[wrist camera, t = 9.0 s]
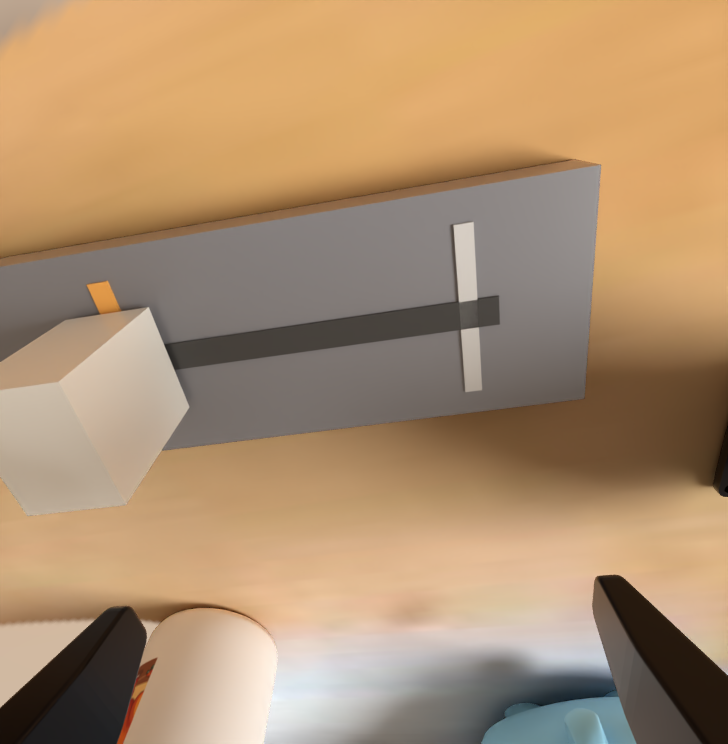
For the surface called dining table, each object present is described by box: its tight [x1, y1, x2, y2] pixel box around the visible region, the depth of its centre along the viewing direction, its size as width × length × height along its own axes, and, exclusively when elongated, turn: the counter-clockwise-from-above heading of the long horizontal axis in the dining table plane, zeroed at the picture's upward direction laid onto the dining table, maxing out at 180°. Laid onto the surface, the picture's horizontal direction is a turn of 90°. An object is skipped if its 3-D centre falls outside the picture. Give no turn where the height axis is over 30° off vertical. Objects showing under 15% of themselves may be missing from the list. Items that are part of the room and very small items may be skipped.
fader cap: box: [0, 307, 189, 516], centre depth 14 cm, size 4×3×5 cm
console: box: [0, 159, 601, 451], centre depth 17 cm, size 8×24×2 cm, turn 99°
